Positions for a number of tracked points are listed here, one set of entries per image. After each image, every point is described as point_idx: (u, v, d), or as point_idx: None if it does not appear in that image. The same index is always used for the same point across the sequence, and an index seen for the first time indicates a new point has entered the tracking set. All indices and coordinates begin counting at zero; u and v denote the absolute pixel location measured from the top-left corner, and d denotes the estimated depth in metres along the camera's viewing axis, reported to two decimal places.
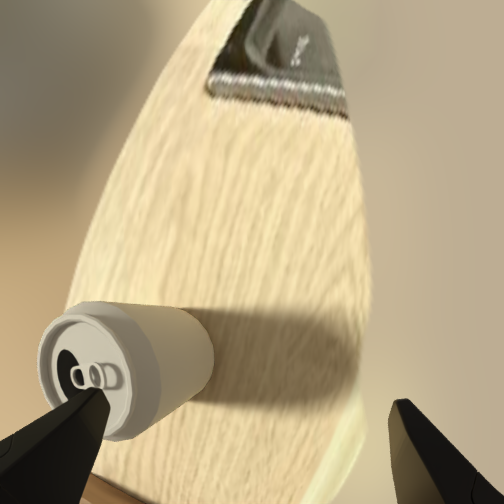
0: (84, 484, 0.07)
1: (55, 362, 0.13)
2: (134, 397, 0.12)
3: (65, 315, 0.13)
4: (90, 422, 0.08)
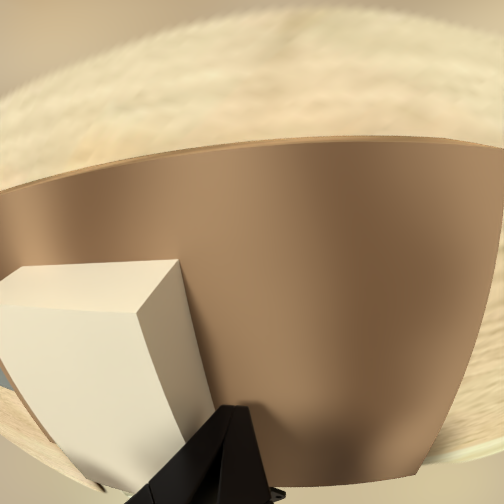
0: None
1: None
2: None
3: None
4: None
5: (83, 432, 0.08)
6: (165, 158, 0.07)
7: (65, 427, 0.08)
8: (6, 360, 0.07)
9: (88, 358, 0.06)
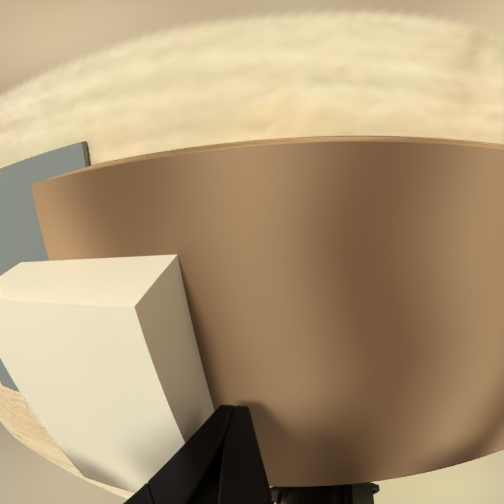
0: None
1: None
2: None
3: None
4: None
5: (80, 429, 0.08)
6: (466, 146, 0.06)
7: (63, 424, 0.08)
8: (4, 356, 0.07)
9: (86, 353, 0.06)
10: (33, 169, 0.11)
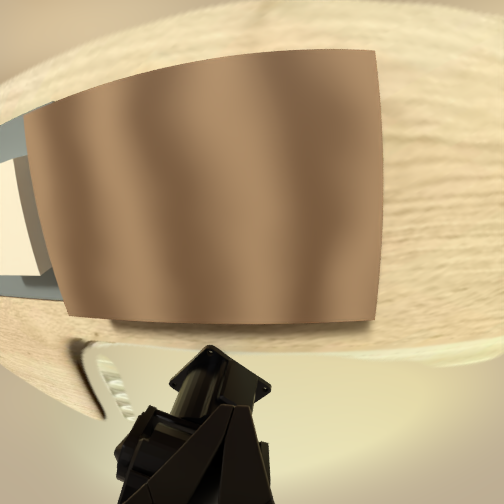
0: None
1: None
2: None
3: None
4: None
5: None
6: (195, 62, 0.13)
7: None
8: None
9: None
10: None
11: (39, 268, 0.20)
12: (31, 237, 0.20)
